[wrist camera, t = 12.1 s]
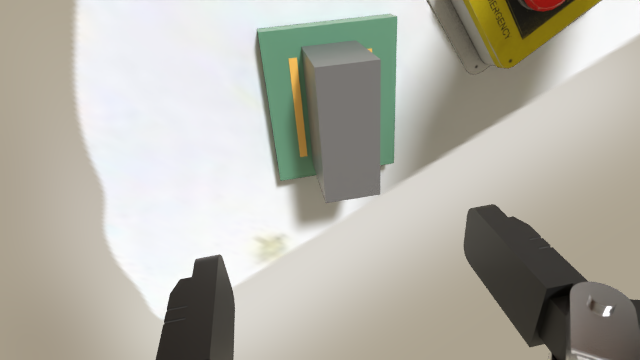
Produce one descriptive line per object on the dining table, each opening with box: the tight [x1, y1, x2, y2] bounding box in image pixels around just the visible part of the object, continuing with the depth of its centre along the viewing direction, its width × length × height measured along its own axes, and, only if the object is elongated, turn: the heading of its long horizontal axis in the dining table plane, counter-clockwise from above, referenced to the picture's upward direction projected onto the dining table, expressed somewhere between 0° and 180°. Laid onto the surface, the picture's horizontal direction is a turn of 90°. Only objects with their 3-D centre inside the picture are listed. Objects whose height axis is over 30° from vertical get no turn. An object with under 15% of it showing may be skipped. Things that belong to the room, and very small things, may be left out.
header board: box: [257, 14, 397, 181], centre depth 29 cm, size 12×10×5 cm
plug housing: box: [301, 40, 381, 203], centre depth 28 cm, size 10×4×6 cm, turn 4°
